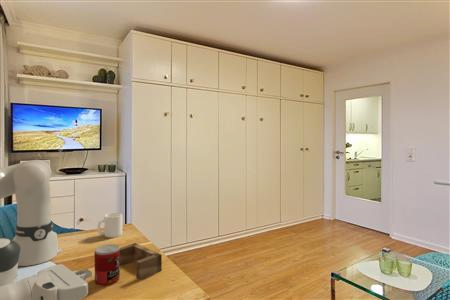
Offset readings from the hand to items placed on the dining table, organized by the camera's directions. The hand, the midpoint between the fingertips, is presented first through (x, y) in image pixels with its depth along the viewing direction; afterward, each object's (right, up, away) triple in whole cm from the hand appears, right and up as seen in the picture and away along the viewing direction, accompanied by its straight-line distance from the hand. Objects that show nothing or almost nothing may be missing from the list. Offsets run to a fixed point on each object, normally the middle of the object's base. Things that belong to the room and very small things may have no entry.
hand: (89, 272), depth 87 cm
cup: (-14, -4, +48) cm, 50 cm away
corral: (+10, -5, +14) cm, 19 cm away
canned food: (+3, -5, +6) cm, 8 cm away
